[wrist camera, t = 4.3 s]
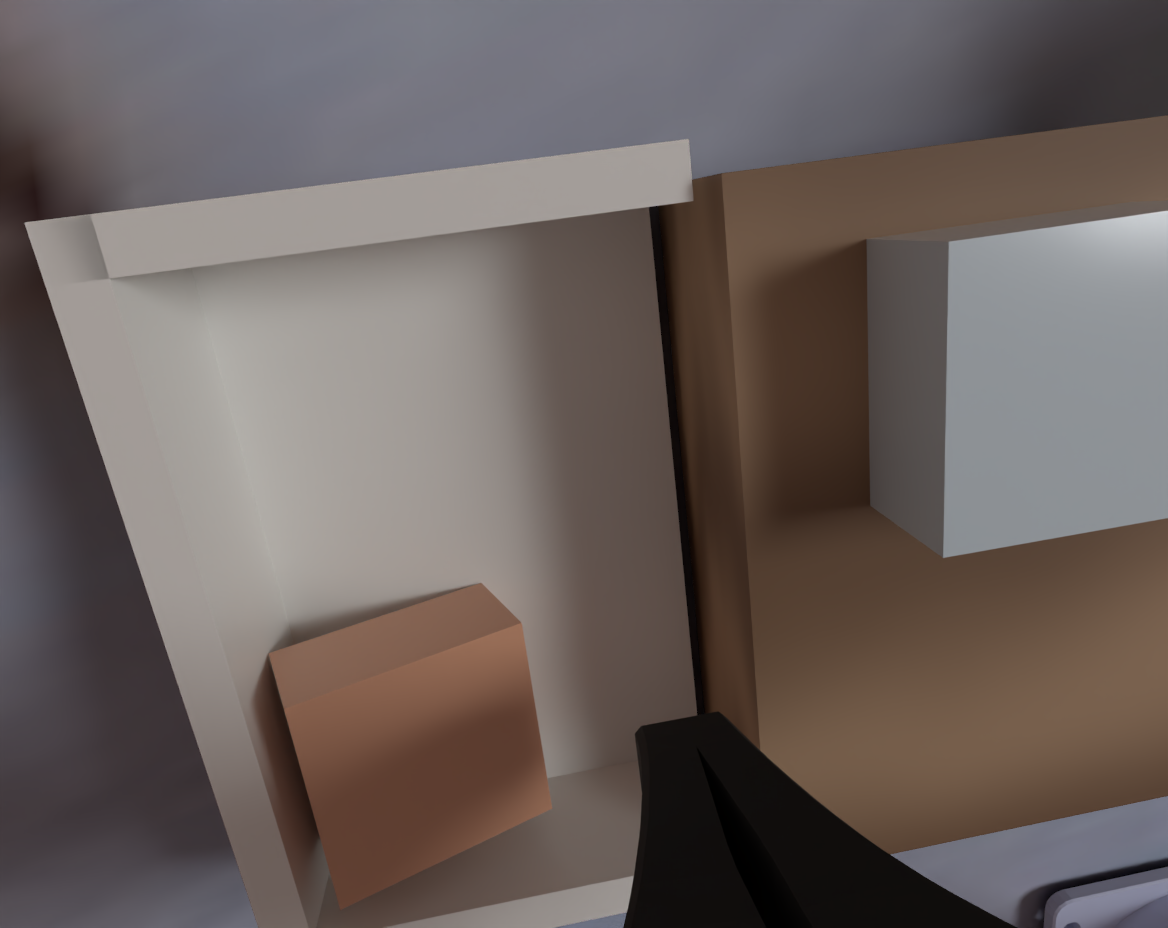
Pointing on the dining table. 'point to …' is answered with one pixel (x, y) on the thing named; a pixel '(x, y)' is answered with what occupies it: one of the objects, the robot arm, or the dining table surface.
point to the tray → (400, 482)
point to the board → (879, 546)
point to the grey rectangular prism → (1020, 376)
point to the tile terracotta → (414, 736)
